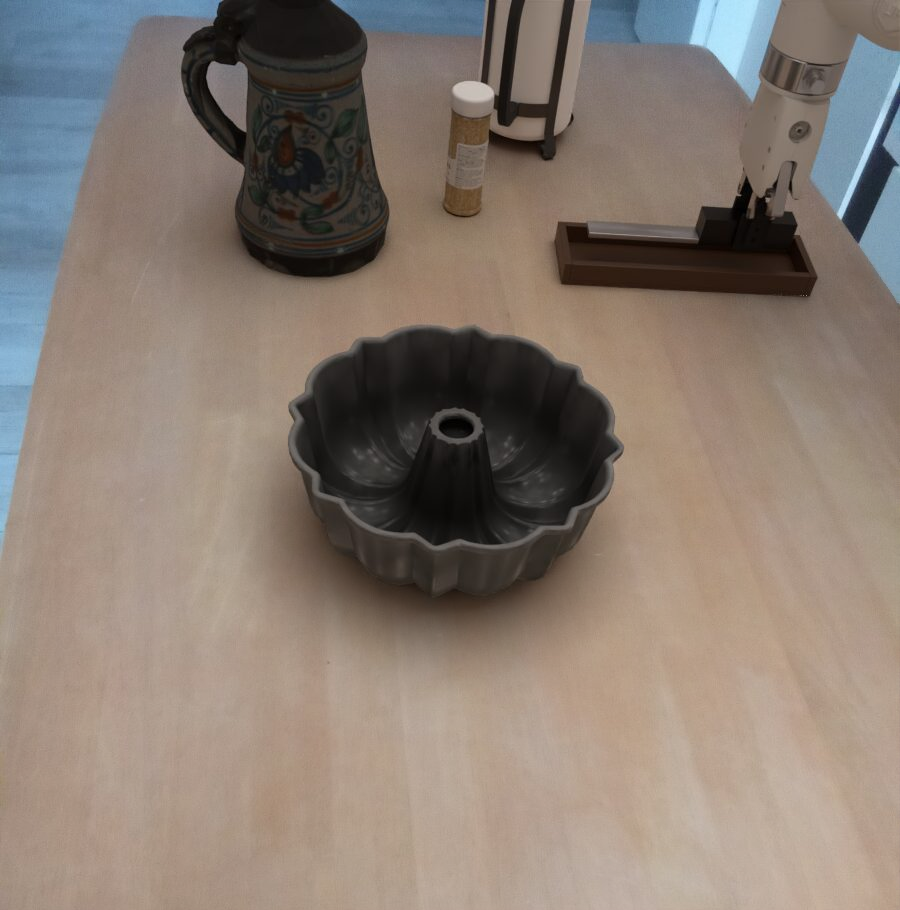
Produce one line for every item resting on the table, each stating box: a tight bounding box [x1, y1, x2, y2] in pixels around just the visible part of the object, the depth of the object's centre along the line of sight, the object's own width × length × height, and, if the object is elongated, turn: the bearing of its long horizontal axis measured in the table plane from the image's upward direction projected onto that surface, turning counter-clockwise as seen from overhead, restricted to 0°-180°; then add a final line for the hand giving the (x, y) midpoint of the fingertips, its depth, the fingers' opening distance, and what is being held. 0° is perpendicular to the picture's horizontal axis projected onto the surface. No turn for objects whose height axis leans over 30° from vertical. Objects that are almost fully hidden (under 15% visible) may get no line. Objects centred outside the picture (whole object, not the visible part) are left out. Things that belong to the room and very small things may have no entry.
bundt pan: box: [287, 324, 625, 599], centre depth 84 cm, size 26×26×10 cm
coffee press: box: [477, 0, 592, 160], centre depth 117 cm, size 17×16×30 cm
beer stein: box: [180, 0, 390, 278], centre depth 101 cm, size 16×19×25 cm
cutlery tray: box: [554, 220, 819, 297], centre depth 112 cm, size 28×8×2 cm, turn 92°
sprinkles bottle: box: [442, 80, 494, 217], centre depth 112 cm, size 5×5×13 cm
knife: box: [585, 205, 799, 250], centre depth 109 cm, size 22×3×3 cm, turn 92°
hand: (743, 239), depth 111 cm, fingers closed on knife, 2 cm apart
